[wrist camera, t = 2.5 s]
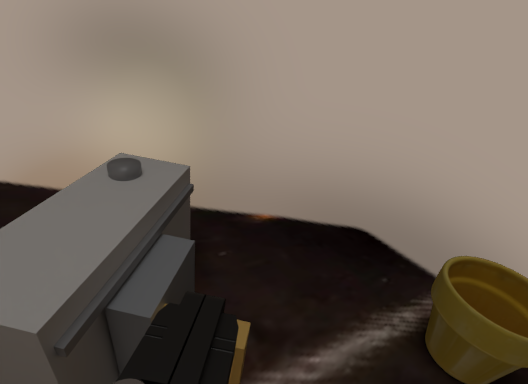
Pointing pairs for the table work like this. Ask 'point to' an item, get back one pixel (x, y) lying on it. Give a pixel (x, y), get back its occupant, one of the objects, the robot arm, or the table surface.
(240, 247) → the table surface
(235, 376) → the door
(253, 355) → the table surface
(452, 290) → the plant pot
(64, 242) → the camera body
